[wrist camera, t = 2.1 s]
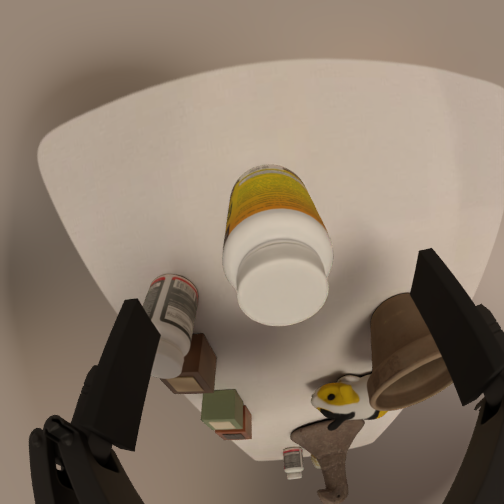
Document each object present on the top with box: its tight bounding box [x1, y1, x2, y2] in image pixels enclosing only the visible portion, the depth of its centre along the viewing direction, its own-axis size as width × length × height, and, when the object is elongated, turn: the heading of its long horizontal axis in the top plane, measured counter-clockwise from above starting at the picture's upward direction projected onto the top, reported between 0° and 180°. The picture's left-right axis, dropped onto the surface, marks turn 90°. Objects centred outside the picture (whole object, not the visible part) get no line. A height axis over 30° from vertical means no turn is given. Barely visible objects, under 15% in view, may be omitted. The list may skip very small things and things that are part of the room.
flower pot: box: [367, 293, 453, 411], centre depth 23 cm, size 12×11×10 cm
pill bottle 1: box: [143, 274, 198, 379], centre depth 21 cm, size 5×5×8 cm
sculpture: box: [290, 419, 365, 504], centre depth 42 cm, size 17×17×20 cm
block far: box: [201, 389, 243, 430], centre depth 36 cm, size 5×5×5 cm
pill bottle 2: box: [283, 447, 304, 479], centre depth 57 cm, size 5×5×10 cm
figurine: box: [311, 374, 388, 431], centre depth 33 cm, size 8×15×8 cm, turn 73°
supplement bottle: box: [222, 165, 333, 326], centre depth 16 cm, size 6×6×10 cm
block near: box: [160, 333, 217, 394], centre depth 28 cm, size 5×5×5 cm
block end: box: [215, 405, 252, 440], centre depth 39 cm, size 5×5×5 cm
